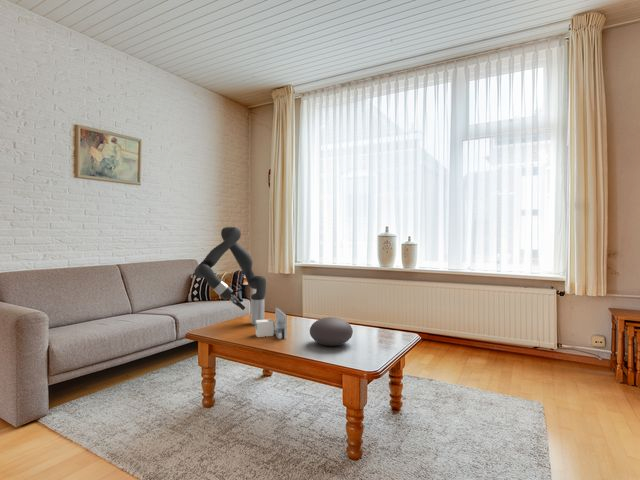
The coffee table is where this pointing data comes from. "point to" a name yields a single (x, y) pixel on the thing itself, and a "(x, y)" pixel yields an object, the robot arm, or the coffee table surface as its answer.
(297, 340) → the coffee table surface
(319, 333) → the flattened ellipsoid
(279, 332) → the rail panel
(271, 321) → the block
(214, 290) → the robot arm
